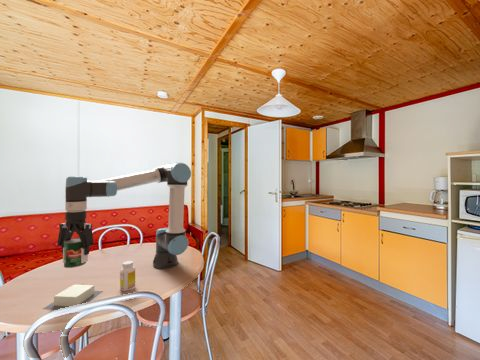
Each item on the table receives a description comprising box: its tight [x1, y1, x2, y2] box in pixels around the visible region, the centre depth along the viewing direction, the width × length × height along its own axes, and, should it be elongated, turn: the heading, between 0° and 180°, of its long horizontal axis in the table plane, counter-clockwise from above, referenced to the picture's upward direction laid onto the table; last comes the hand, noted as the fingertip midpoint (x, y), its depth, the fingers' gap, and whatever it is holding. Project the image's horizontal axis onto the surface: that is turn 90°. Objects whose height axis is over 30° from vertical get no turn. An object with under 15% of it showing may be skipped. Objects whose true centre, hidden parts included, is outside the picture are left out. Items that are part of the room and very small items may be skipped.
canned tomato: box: [63, 237, 87, 269], centre depth 93 cm, size 8×8×11 cm
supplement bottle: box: [119, 260, 136, 292], centre depth 104 cm, size 7×7×13 cm
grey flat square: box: [42, 290, 104, 311], centre depth 93 cm, size 15×15×1 cm
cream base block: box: [53, 284, 95, 306], centre depth 93 cm, size 10×10×4 cm
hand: (75, 261), depth 93 cm, fingers closed on canned tomato, 8 cm apart
